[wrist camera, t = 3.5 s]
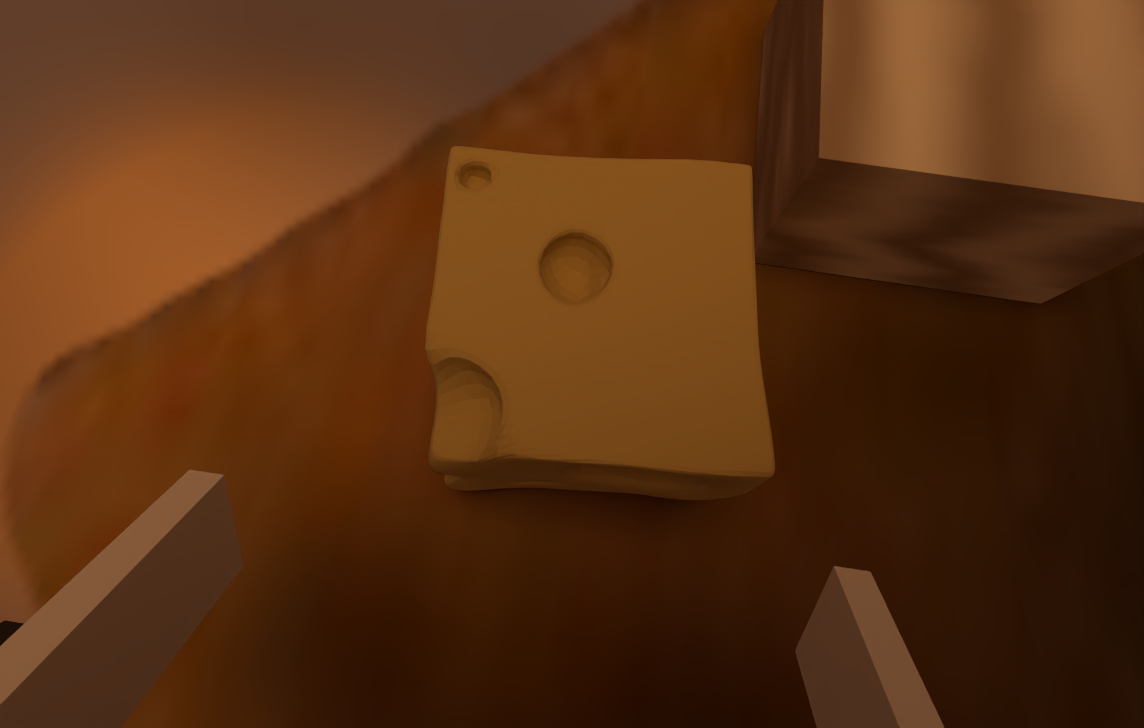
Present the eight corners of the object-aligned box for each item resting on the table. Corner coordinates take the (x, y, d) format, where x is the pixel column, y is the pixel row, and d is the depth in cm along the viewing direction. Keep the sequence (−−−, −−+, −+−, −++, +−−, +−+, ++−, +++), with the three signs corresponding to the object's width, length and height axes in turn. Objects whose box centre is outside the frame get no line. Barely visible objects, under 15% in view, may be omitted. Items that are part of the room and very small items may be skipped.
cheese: (455, 493, 25) (389, 464, 15) (482, 264, 28) (441, 120, 18) (699, 508, 25) (787, 489, 15) (698, 278, 28) (771, 141, 18)
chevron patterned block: (1018, 69, 32) (1164, -81, 24) (1040, 303, 28) (1224, 213, 20) (763, 35, 32) (827, -123, 24) (748, 261, 28) (819, 157, 20)
